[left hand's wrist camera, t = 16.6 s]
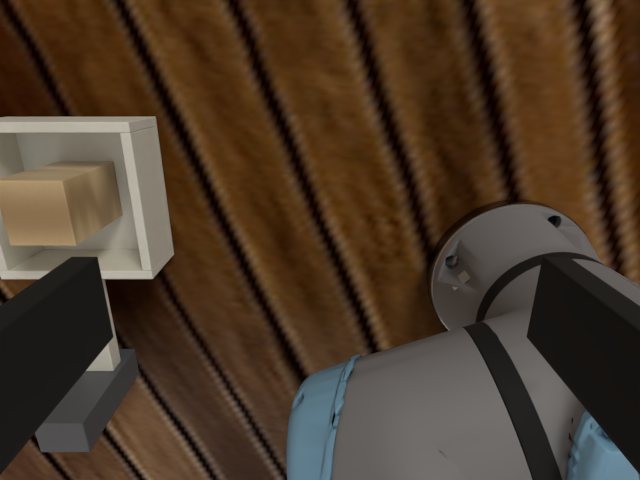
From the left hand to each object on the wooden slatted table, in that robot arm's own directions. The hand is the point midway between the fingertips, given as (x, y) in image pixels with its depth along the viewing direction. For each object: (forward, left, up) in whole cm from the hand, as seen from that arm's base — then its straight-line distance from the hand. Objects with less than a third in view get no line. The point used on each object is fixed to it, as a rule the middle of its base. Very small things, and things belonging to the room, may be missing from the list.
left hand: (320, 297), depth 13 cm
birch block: (+6, +20, -26) cm, 33 cm away
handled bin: (0, +23, -27) cm, 35 cm away
